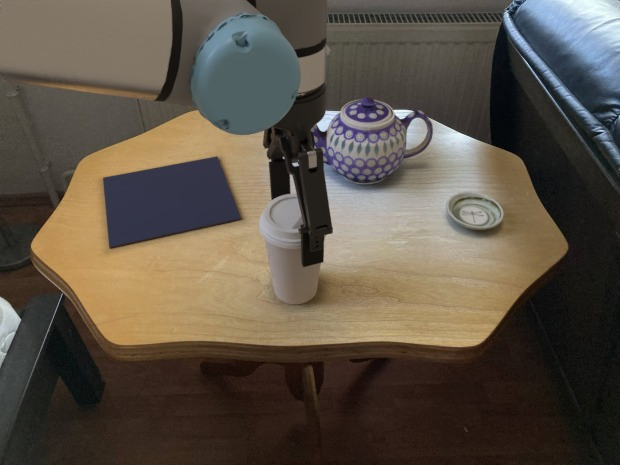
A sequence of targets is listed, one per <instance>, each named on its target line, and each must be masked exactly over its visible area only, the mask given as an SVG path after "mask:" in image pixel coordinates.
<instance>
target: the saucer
mask: <svg viewBox="0 0 620 465" xmlns="http://www.w3.org/2000/svg"><path fill="white" fill-rule="evenodd" d="M445 210H446V212H447V215H448V216H449V217H450V218H451V220H453V221H454V222H455V223H457V225H460V226H462V227H464V228H466V229H470V230H474V231H475V230H476V231H486V230H491V229H494V228H496V227H497V226H499V225H500V224H501V223H502V222H503V220H504V217H505V213H504V212H505V211H504V208H503V207H502V205H501V204H500V203H499V201H497V200H495V199H494V198H492V197H491V196H489V195H486V194H484V193H481V192H477V191H461V192H457V193H455V194H452V195H451V196H450V197H449V198H448V199H447V201H446V204H445Z"/></svg>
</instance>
